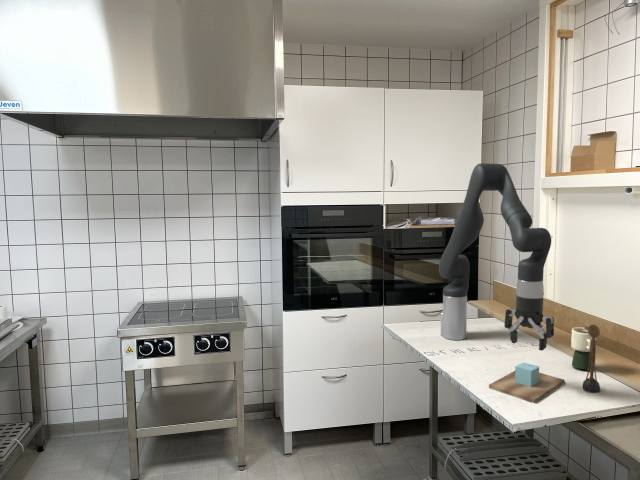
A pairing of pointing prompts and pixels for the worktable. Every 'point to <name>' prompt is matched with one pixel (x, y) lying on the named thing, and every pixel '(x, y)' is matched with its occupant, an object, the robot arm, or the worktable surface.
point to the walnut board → (527, 387)
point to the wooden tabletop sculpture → (592, 361)
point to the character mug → (581, 348)
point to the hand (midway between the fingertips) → (527, 346)
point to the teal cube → (527, 374)
